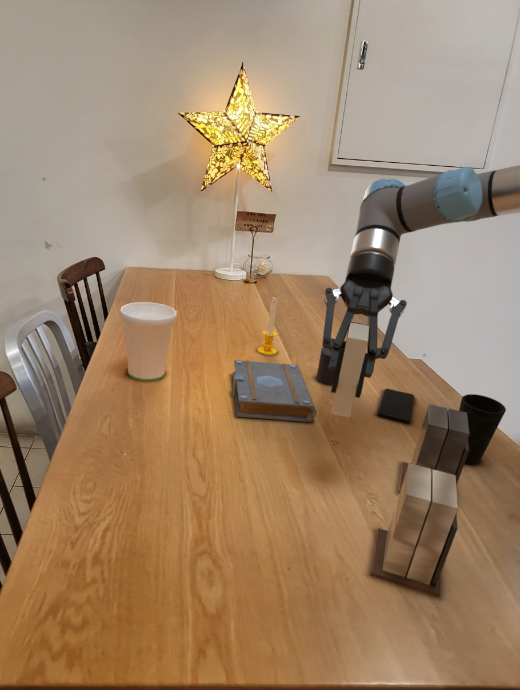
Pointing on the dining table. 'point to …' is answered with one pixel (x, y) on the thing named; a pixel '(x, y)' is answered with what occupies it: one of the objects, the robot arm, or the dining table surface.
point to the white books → (418, 531)
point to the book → (271, 392)
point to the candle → (270, 331)
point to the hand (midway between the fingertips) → (346, 391)
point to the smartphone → (396, 405)
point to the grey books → (441, 442)
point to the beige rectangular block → (350, 369)
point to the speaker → (326, 366)
